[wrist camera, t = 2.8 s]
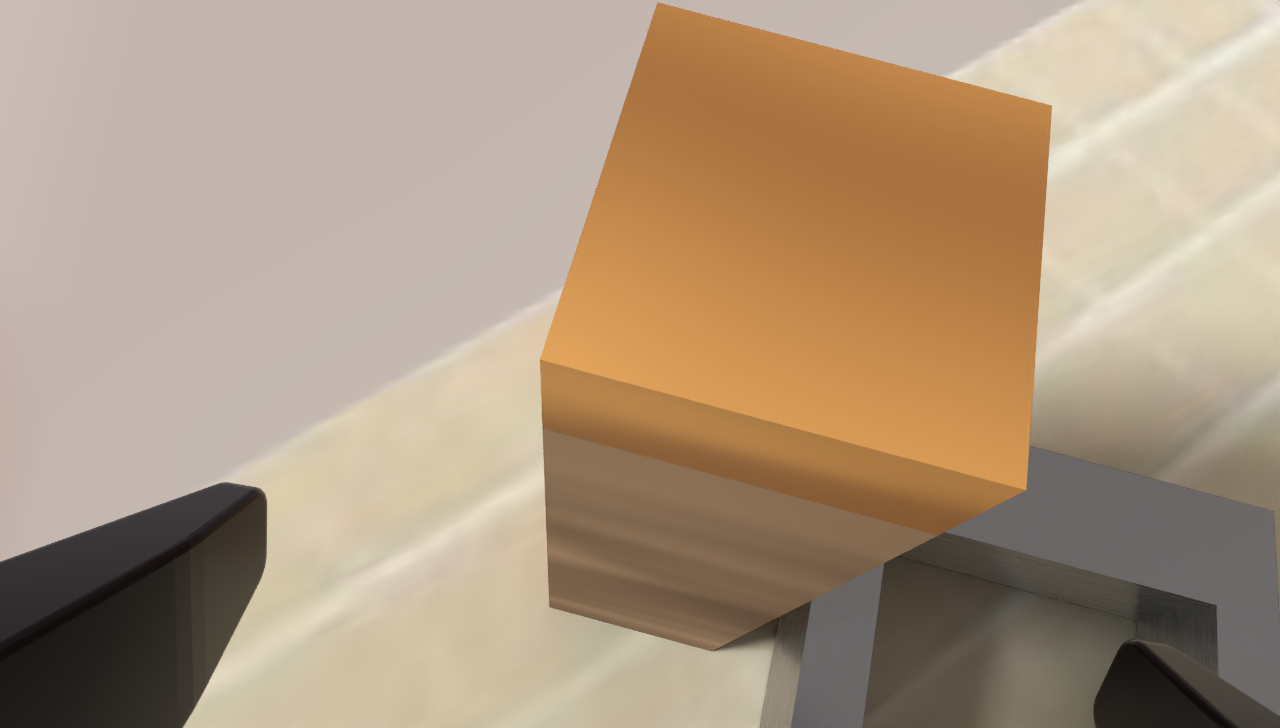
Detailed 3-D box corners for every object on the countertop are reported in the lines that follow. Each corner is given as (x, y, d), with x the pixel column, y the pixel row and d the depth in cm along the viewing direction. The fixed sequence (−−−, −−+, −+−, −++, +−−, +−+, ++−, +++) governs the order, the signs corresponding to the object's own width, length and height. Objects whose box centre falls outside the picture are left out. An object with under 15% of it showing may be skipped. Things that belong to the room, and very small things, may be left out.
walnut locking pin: (711, 651, 18) (1025, 489, 6) (549, 606, 18) (540, 359, 6) (744, 492, 19) (1052, 106, 7) (593, 451, 19) (657, 2, 7)
